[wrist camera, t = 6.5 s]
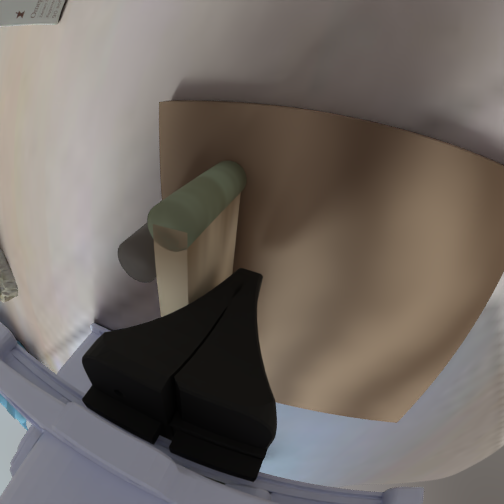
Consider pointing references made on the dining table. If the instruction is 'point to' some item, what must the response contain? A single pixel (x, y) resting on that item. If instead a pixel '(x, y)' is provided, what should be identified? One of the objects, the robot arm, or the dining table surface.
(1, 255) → the ceramic cottage
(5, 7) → the supplement box
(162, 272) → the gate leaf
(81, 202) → the dining table surface
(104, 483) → the robot arm
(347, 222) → the board
